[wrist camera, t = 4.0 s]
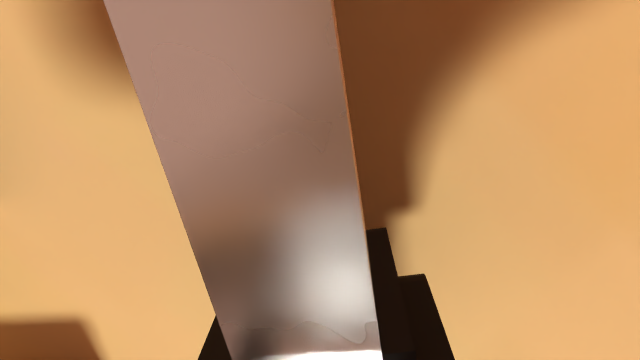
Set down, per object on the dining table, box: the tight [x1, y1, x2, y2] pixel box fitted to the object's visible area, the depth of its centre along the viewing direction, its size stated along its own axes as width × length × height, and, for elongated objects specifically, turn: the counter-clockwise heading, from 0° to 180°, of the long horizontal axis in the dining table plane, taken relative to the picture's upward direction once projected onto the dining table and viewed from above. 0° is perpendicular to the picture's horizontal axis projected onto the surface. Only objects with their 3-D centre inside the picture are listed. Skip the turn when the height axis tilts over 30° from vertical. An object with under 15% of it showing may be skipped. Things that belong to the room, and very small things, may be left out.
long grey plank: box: [103, 0, 382, 360], centre depth 9 cm, size 20×2×5 cm, turn 10°
